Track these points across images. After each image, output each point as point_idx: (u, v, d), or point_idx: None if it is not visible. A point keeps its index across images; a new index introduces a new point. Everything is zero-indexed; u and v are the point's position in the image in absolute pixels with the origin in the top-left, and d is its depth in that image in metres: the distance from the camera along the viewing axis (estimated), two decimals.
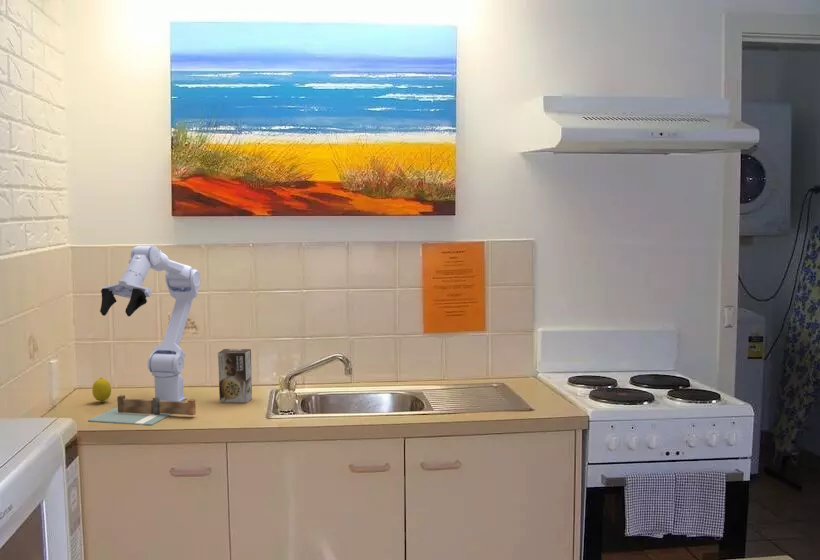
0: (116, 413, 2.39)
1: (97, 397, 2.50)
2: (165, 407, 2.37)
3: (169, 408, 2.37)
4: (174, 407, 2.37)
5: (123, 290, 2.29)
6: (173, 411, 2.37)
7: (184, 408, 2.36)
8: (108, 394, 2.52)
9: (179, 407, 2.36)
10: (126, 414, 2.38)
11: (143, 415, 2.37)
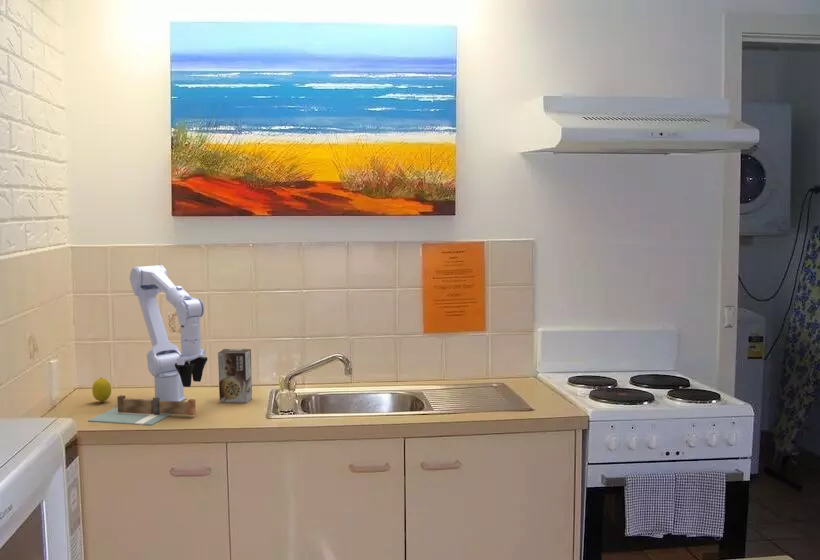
0: (116, 413, 2.39)
1: (97, 397, 2.50)
2: (165, 407, 2.37)
3: (169, 408, 2.37)
4: (174, 407, 2.37)
5: None
6: (173, 411, 2.37)
7: (184, 408, 2.36)
8: (108, 394, 2.52)
9: (179, 407, 2.36)
10: (126, 414, 2.38)
11: (143, 415, 2.37)
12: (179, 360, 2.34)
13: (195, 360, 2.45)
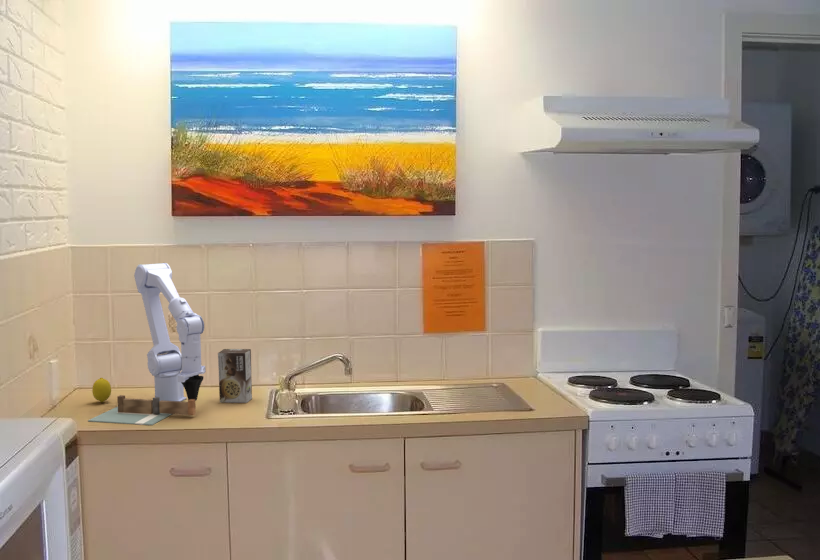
0: (116, 413, 2.39)
1: (97, 397, 2.50)
2: (165, 407, 2.37)
3: (169, 408, 2.37)
4: (174, 407, 2.37)
5: None
6: (173, 411, 2.37)
7: (184, 408, 2.36)
8: (108, 394, 2.52)
9: (179, 407, 2.36)
10: (126, 414, 2.38)
11: (143, 415, 2.37)
12: (180, 377, 2.35)
13: None
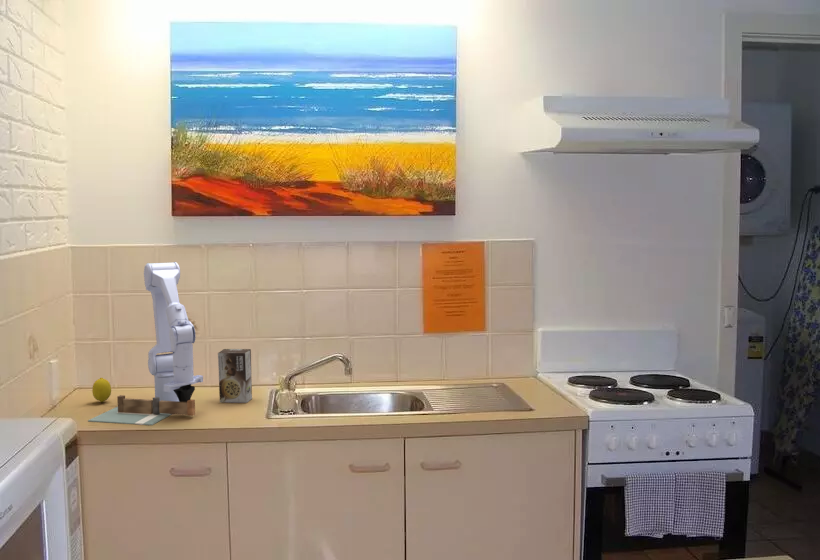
0: (116, 413, 2.39)
1: (97, 397, 2.50)
2: (165, 407, 2.37)
3: (169, 408, 2.37)
4: (174, 407, 2.36)
5: None
6: (173, 411, 2.37)
7: (183, 408, 2.36)
8: (108, 394, 2.52)
9: (179, 408, 2.36)
10: (126, 414, 2.38)
11: (143, 415, 2.37)
12: (165, 387, 2.31)
13: None
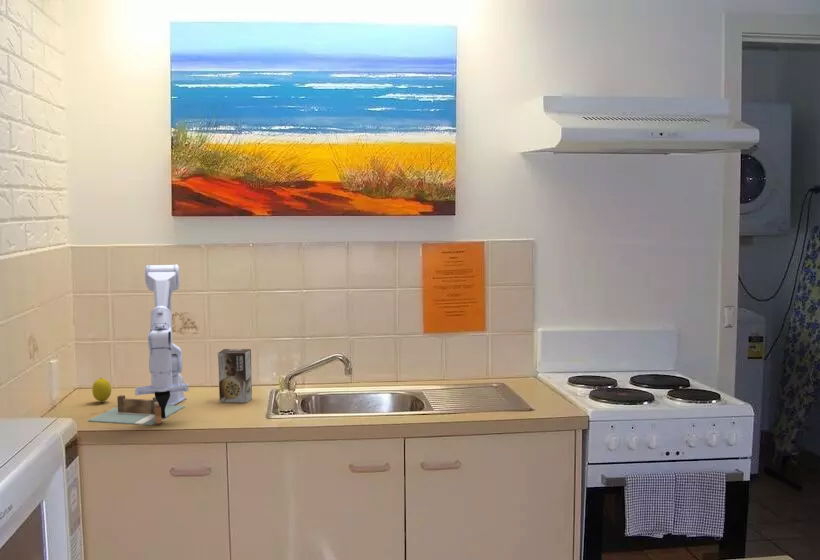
0: (116, 413, 2.39)
1: (97, 397, 2.50)
2: None
3: None
4: None
5: None
6: None
7: None
8: (108, 394, 2.52)
9: None
10: (126, 414, 2.38)
11: (143, 415, 2.37)
12: (135, 390, 2.28)
13: None
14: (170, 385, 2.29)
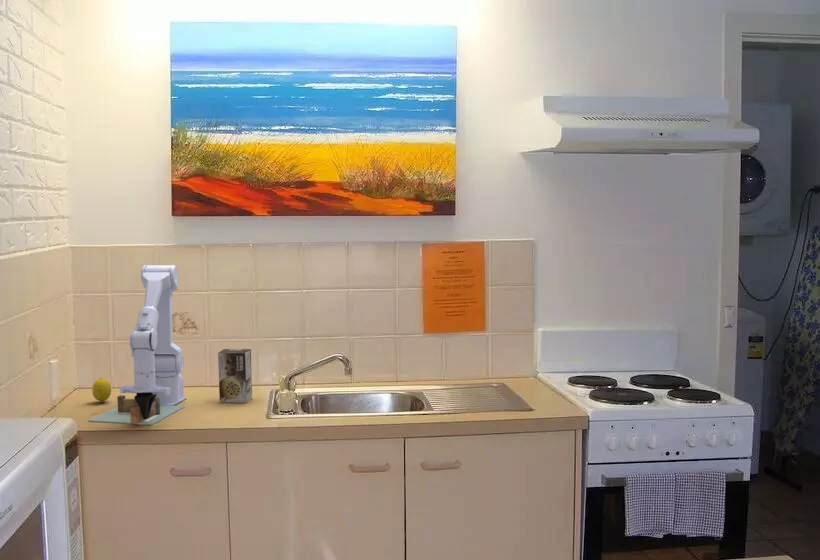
0: (116, 413, 2.39)
1: (97, 397, 2.50)
2: None
3: None
4: None
5: None
6: None
7: None
8: (108, 394, 2.52)
9: None
10: (126, 414, 2.38)
11: None
12: None
13: None
14: (149, 387, 2.27)
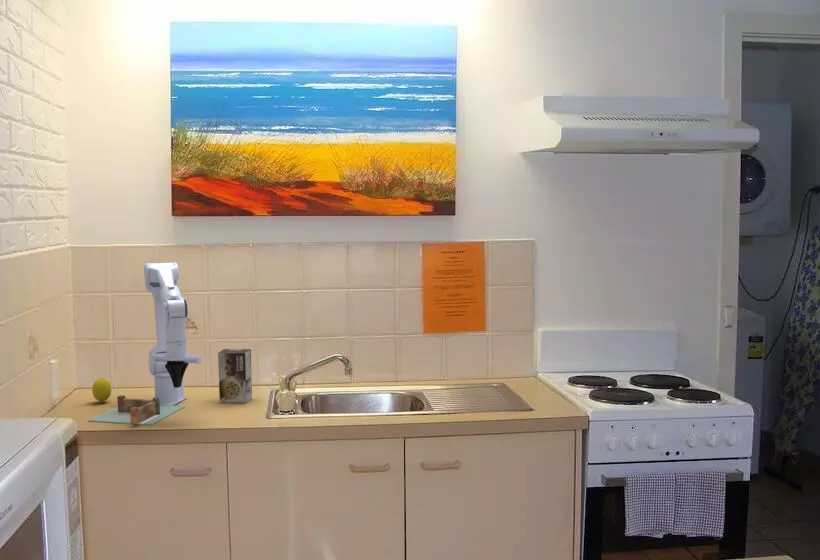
0: (116, 413, 2.39)
1: (97, 397, 2.50)
2: None
3: None
4: None
5: None
6: None
7: None
8: (108, 394, 2.52)
9: None
10: (126, 414, 2.38)
11: None
12: None
13: None
14: (181, 355, 2.31)
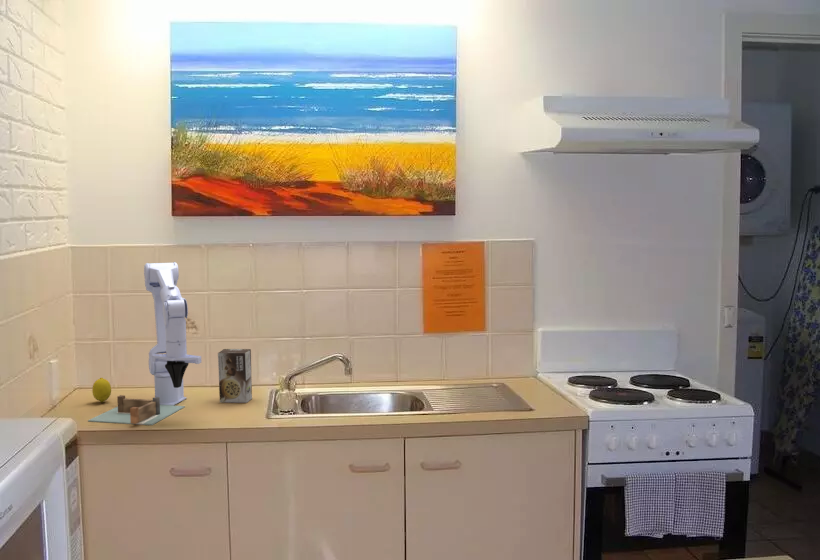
0: (116, 413, 2.39)
1: (97, 397, 2.50)
2: None
3: None
4: None
5: None
6: None
7: None
8: (108, 394, 2.52)
9: None
10: (126, 414, 2.38)
11: None
12: None
13: None
14: (181, 355, 2.31)
